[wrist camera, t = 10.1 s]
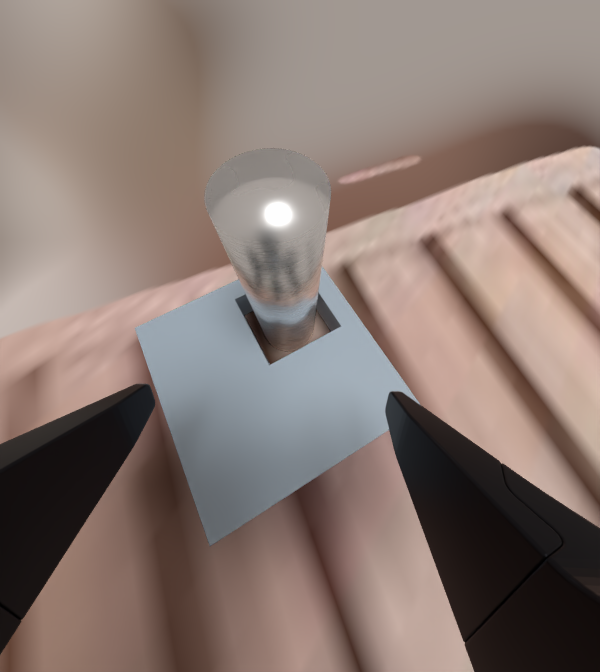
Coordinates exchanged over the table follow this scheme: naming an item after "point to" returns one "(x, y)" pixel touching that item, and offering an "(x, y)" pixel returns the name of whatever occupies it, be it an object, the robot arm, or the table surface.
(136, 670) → the table surface
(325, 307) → the jig plate
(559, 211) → the table surface
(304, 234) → the polished metal rod
